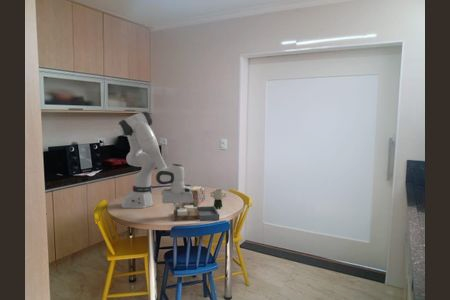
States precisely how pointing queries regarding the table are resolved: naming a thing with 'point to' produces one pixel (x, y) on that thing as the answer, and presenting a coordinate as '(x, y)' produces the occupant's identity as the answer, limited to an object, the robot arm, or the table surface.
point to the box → (208, 213)
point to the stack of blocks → (197, 195)
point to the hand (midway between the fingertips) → (177, 209)
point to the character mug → (218, 197)
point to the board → (189, 216)
